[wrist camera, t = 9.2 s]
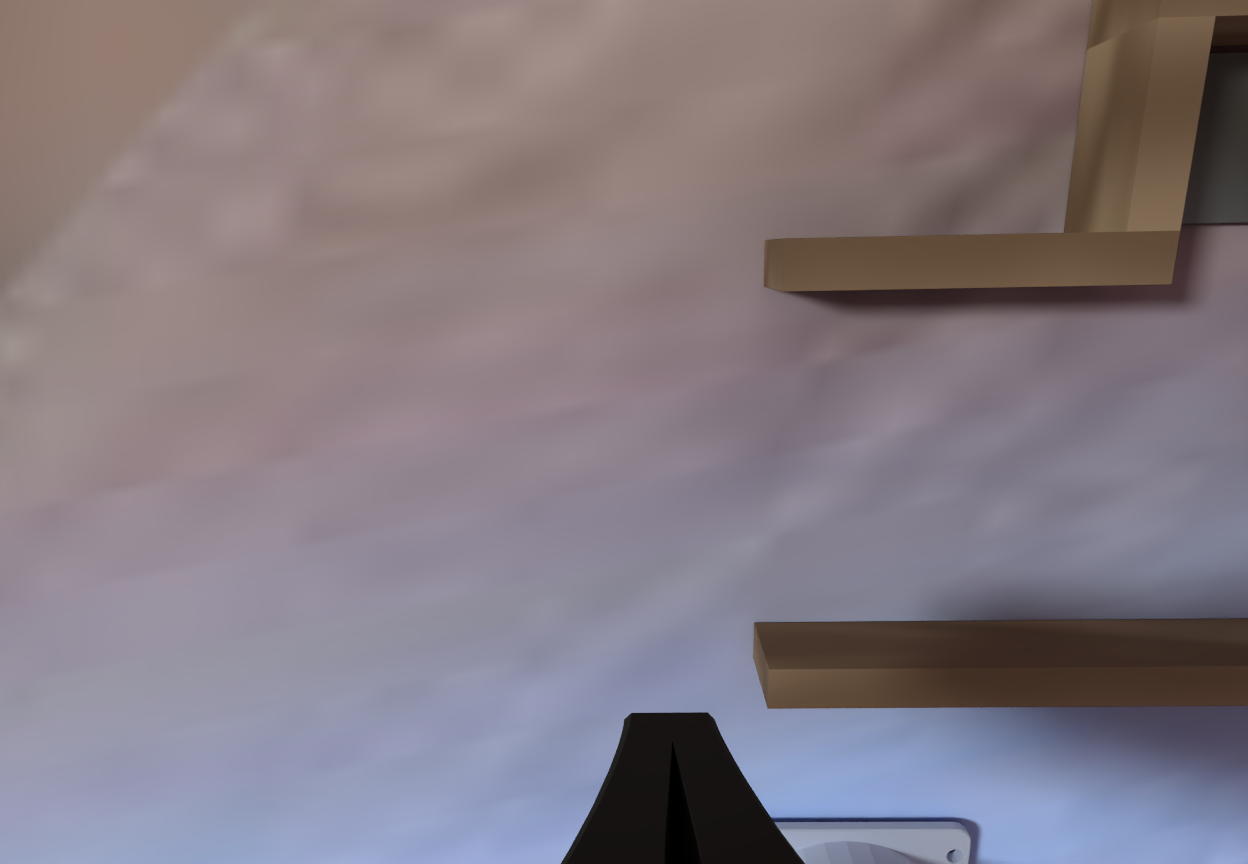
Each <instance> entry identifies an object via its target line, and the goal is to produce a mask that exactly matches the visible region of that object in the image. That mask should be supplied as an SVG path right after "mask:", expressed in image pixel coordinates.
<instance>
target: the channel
mask: <svg viewBox="0 0 1248 864" xmlns="http://www.w3.org/2000/svg"><path fill="white" fill-rule="evenodd" d="M1247 45H1248V0H1093V6H1092V14H1091V22H1090V29H1089V37H1088V45H1087V53H1086V61H1085V69H1084V77H1083V85H1082V93H1081V101H1080V109H1079V116H1078V124H1077V132H1076V140H1075V148H1074V156H1073V164H1072V172H1071V180H1070V188H1069V196H1068V203H1067V211H1066V219H1065V227H1064V233H1034V234H985V235H935V236H886V237H836V238H786V239H773V240H765V261H764V287H768V288H771V289H775V290H779V291H833V290H887V289H941V288H995V287H1049V286H1103V285H1157V284H1172V278H1173V272H1174V266H1175V260H1176V254H1177V248H1178V242H1179V235H1180V229H1181V224H1199V223H1248V52H1242V53H1210V47H1211V46H1247ZM753 659H754V662H755V666H756V669H757V673H758V676H759V680H760V683H761V687H762V690H763V694H764V697H765V701H766V704H767V707H768V709H772V708H942V707H1112V706H1248V619H1136V620H1018V621H900V622H783V623H754V653H753Z"/></svg>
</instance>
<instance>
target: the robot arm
mask: <svg viewBox="0 0 1248 864" xmlns="http://www.w3.org/2000/svg"><path fill="white" fill-rule="evenodd" d="M955 849H956V850H955ZM970 849H971V837H970V835H969V833H968V831H967V830H966V828H965V827H964V825H962V824H960V823H958V822H774V821H773V820H772V818H771V817H770V816H769V814H768V813H767V811H766V810H765V808H764V807H763V805H762V804H761V802H760V801H759V799H758V797H757V796H756V794H755V793H754V791H753V790H752V788H751V787H750V785H749V784H748V782H747V780H746V779H745V777H744V776H743V774H742V772H741V771H740V769H739V767H738V765H737V764H736V762H735V760H734V758H733V757H732V755H731V753H730V751H729V749H728V747H727V746H726V744H725V742H724V740H723V738H722V736H721V734H720V731H719V729H718V727H717V725H716V722H715V720H714V718H713V717H712V716H711V715H710V714H708V713H631V714H630V715H629V716H628V717H627V718H625V719H624V726H623V731H622V735H621V738H620V742H619V745H618V748H617V751H616V754H615V756H614V759H613V761H612V764H611V767H610V769H609V772H608V774H607V776H606V778H605V780H604V783H603V785H602V787H601V789H600V791H599V794H598V796H597V798H596V800H595V803H594V805H593V807H592V809H591V811H590V813H589V814H588V816H587V818H586V820H585V822H584V824H583V825H582V827H581V829H580V831H579V833H578V835H577V836H576V838H575V840H574V842H573V844H572V846H571V848H570V849H569V851H568V853H567V854H566V856H565V858H564V859H563V861H562V863H561V864H969V857H970ZM951 850H955V851H954V852H951V853H948V852H949V851H951Z"/></svg>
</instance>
